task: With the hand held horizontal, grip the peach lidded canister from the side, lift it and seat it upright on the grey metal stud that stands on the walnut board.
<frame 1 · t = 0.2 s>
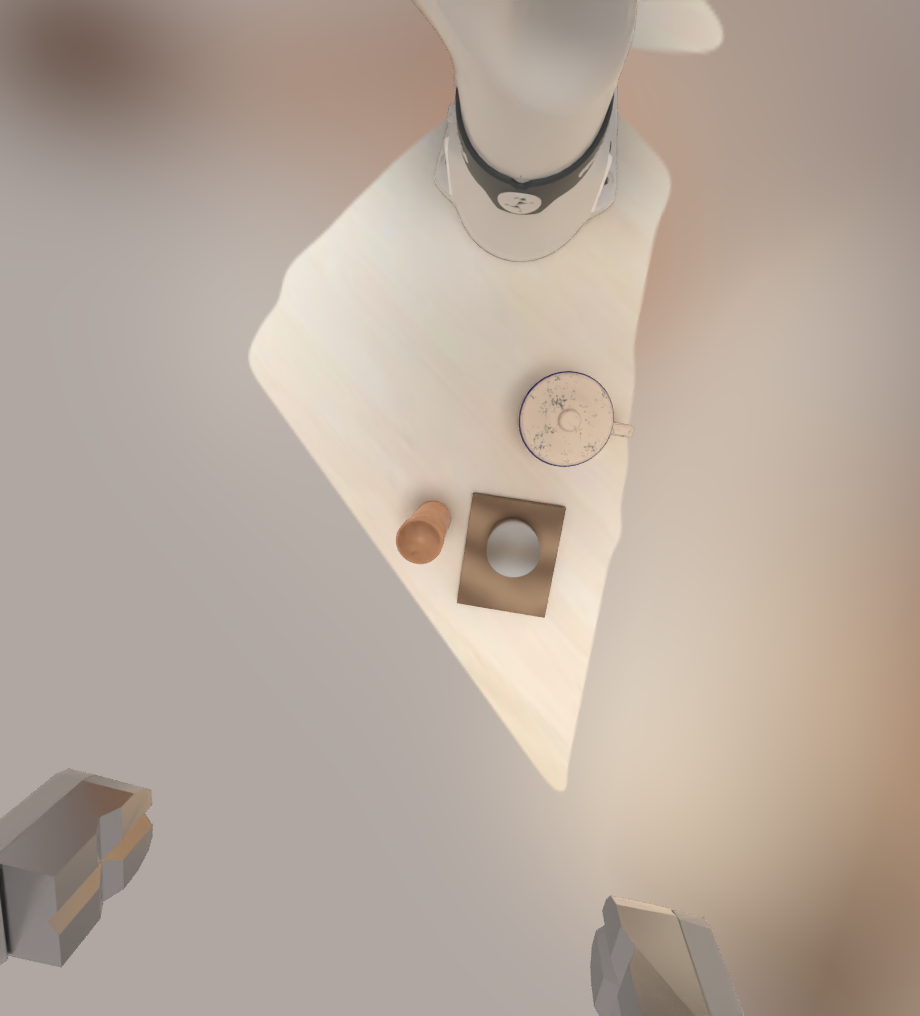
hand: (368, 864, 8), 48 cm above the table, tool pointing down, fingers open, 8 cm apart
stud board: (509, 554, 56), on the table
peach lidded canister: (432, 518, 56), on the table
teacup with lid: (567, 420, 52), on the table
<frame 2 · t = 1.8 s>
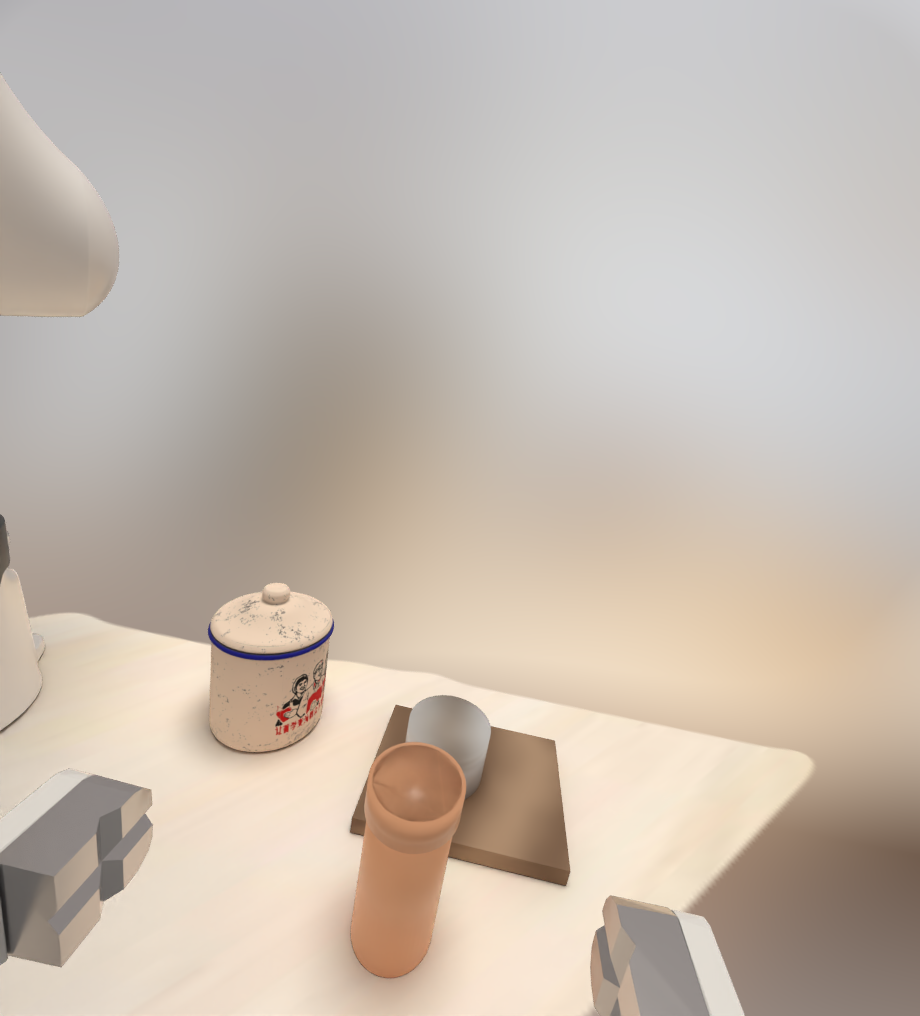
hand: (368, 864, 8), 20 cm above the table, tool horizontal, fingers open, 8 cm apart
stud board: (465, 786, 34), on the table
peach lidded canister: (392, 926, 25), on the table
teacup with lid: (277, 704, 39), on the table
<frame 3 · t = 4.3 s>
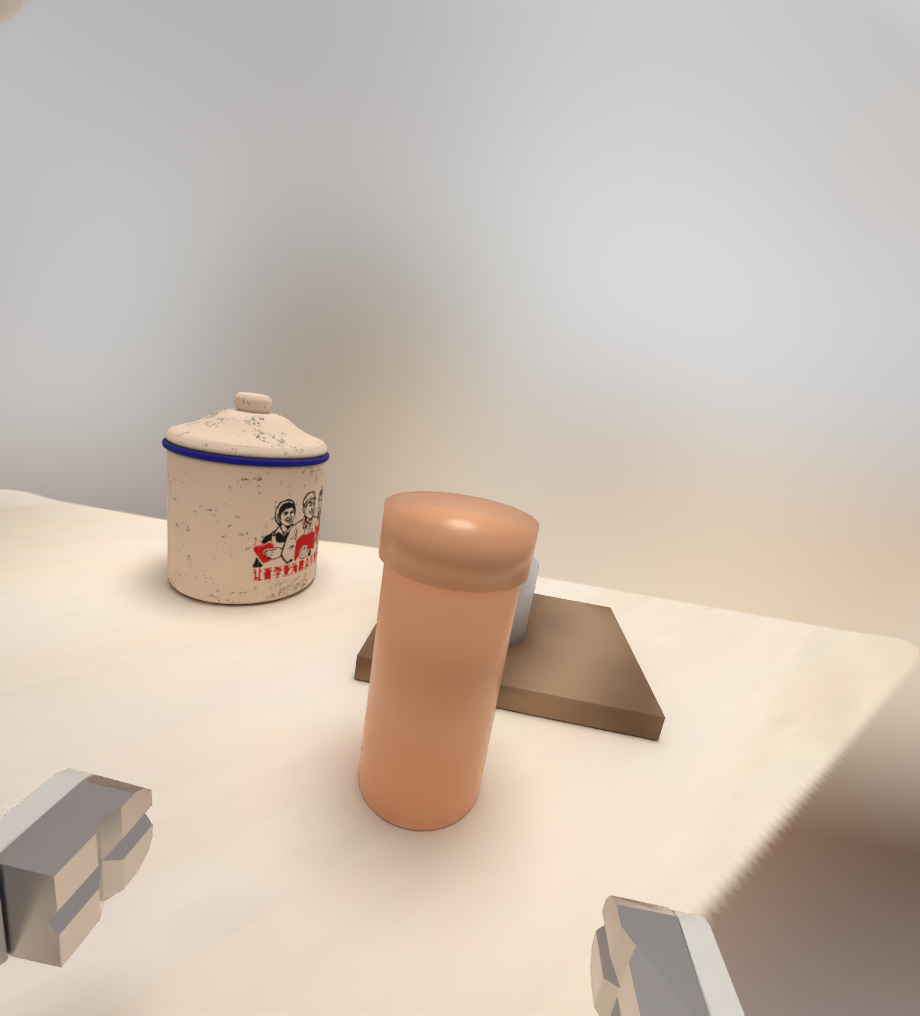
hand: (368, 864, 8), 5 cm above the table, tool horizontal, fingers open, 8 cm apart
stud board: (504, 645, 26), on the table
peach lidded canister: (420, 773, 16), on the table
teacup with lid: (258, 570, 31), on the table
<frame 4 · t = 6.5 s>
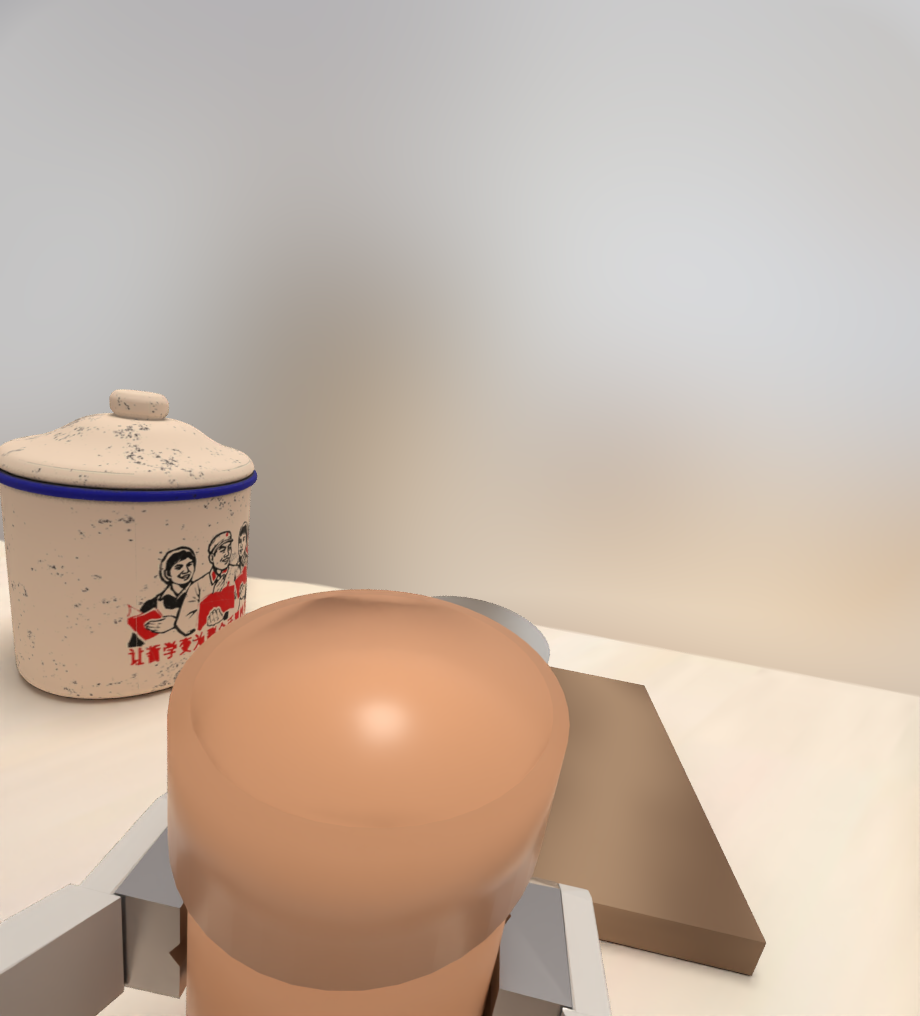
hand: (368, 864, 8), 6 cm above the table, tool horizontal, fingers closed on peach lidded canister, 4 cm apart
stud board: (497, 760, 18), on the table
teacup with lid: (167, 631, 23), on the table
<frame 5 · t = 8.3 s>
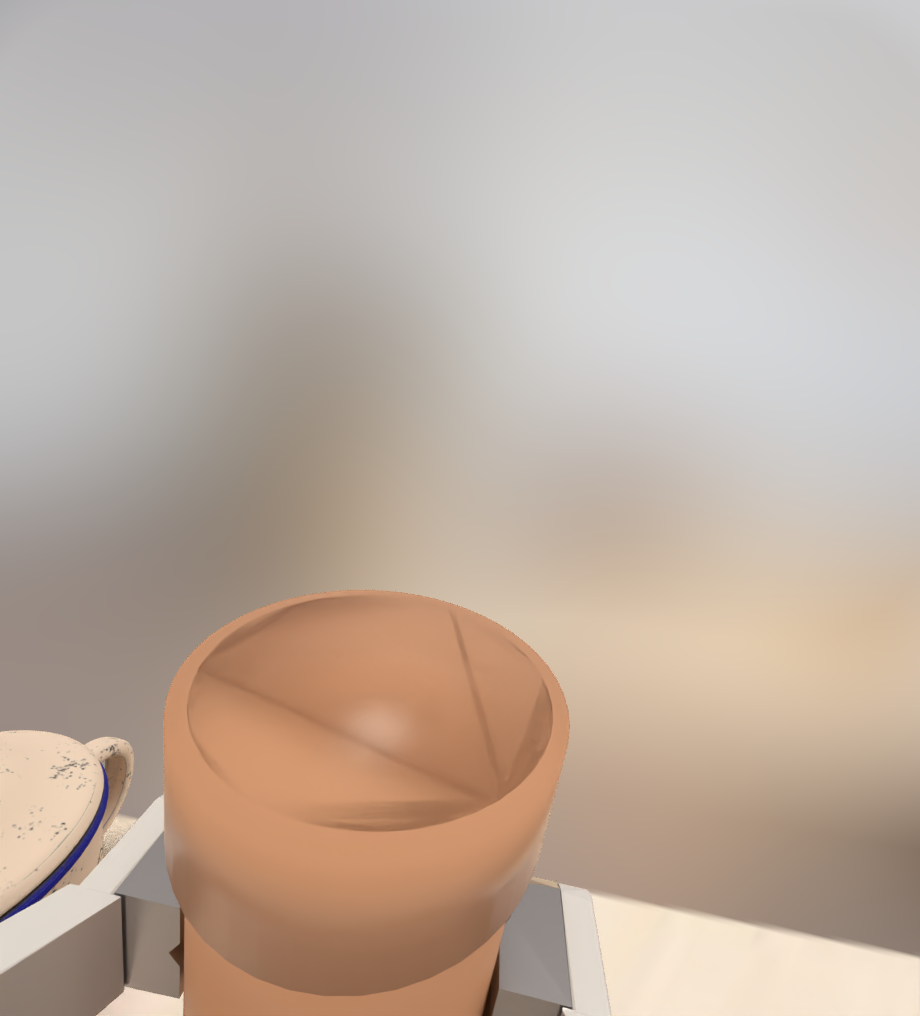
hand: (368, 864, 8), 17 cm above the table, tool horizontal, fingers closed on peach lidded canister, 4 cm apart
teacup with lid: (3, 981, 18), on the table
when the fingers open (12 cm above the table, at t = 10.0 s): peach lidded canister drops 1 cm, resting on stud board.
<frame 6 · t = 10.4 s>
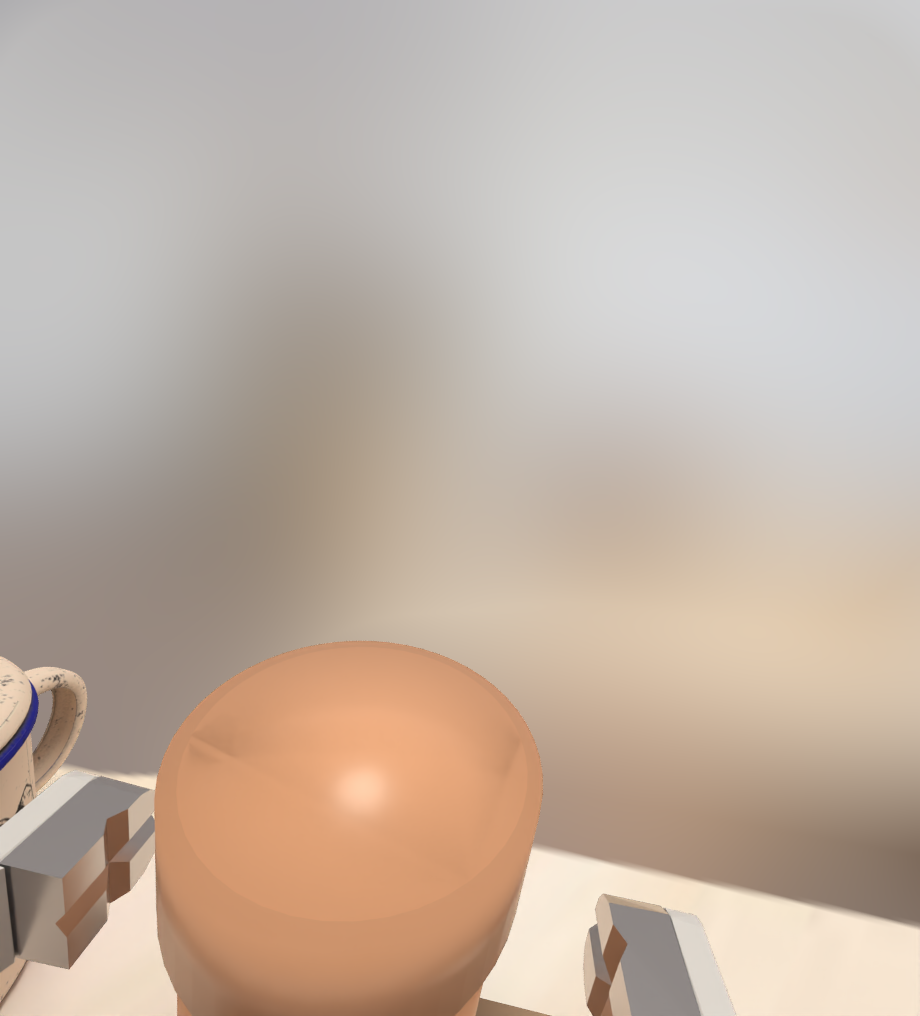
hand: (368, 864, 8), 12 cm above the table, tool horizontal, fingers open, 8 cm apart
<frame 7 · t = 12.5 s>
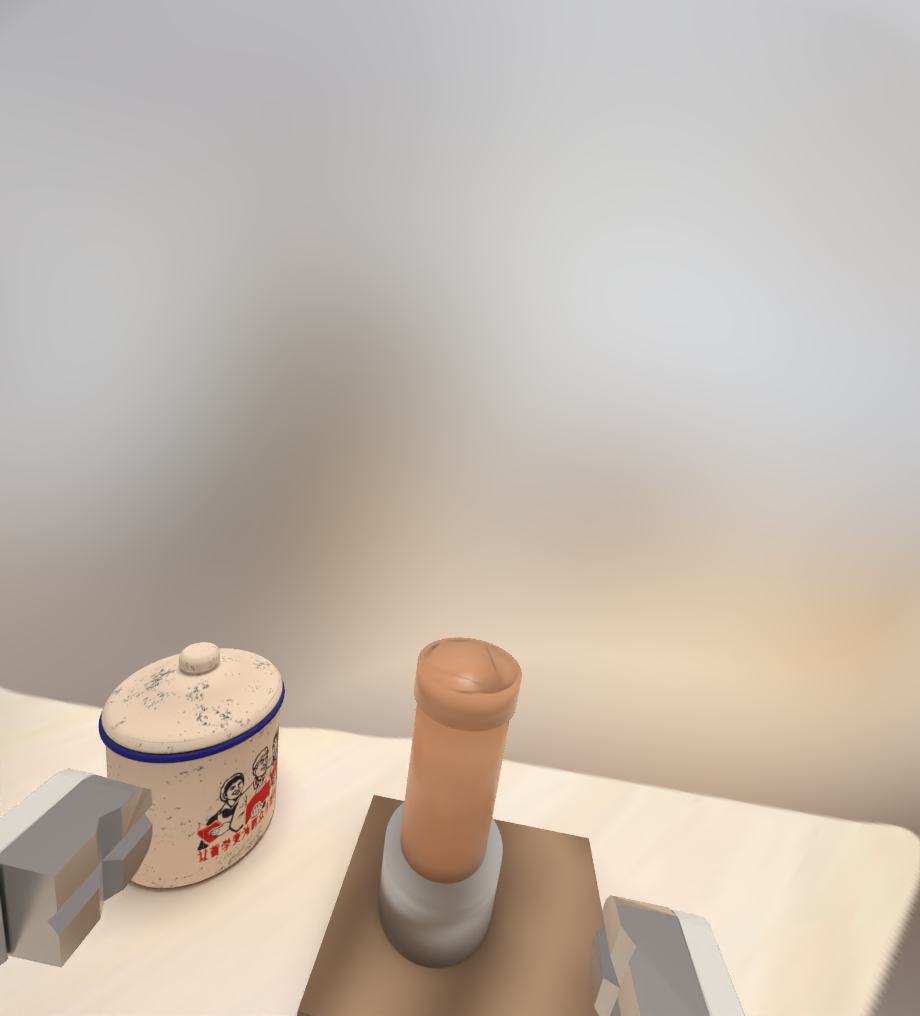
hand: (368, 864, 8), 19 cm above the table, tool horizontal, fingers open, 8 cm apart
stud board: (469, 924, 24), on the table
peach lidded canister: (443, 838, 23), point 5 cm above the table, touching stud board
teacup with lid: (215, 802, 29), on the table
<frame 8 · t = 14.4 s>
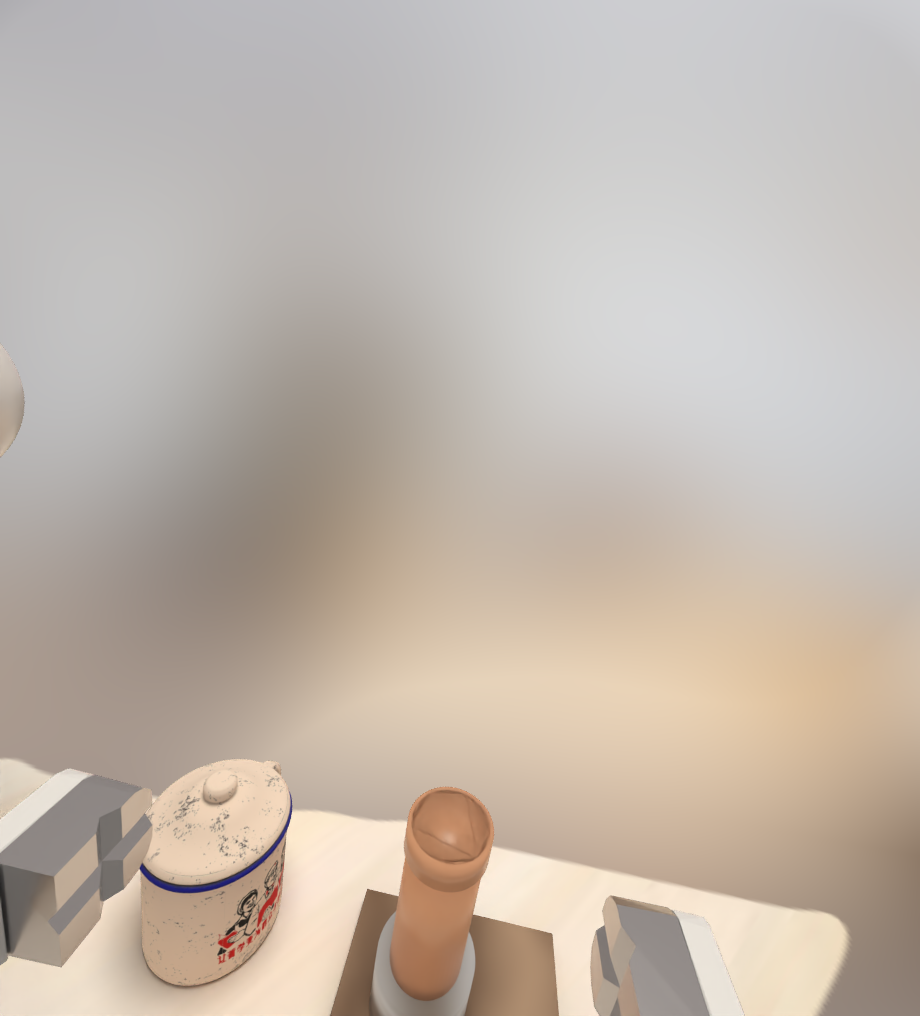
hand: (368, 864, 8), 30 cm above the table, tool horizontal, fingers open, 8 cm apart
peach lidded canister: (425, 953, 27), point 5 cm above the table, touching stud board
teacup with lid: (228, 893, 34), on the table
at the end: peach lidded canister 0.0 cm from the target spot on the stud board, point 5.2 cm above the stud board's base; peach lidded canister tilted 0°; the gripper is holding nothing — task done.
